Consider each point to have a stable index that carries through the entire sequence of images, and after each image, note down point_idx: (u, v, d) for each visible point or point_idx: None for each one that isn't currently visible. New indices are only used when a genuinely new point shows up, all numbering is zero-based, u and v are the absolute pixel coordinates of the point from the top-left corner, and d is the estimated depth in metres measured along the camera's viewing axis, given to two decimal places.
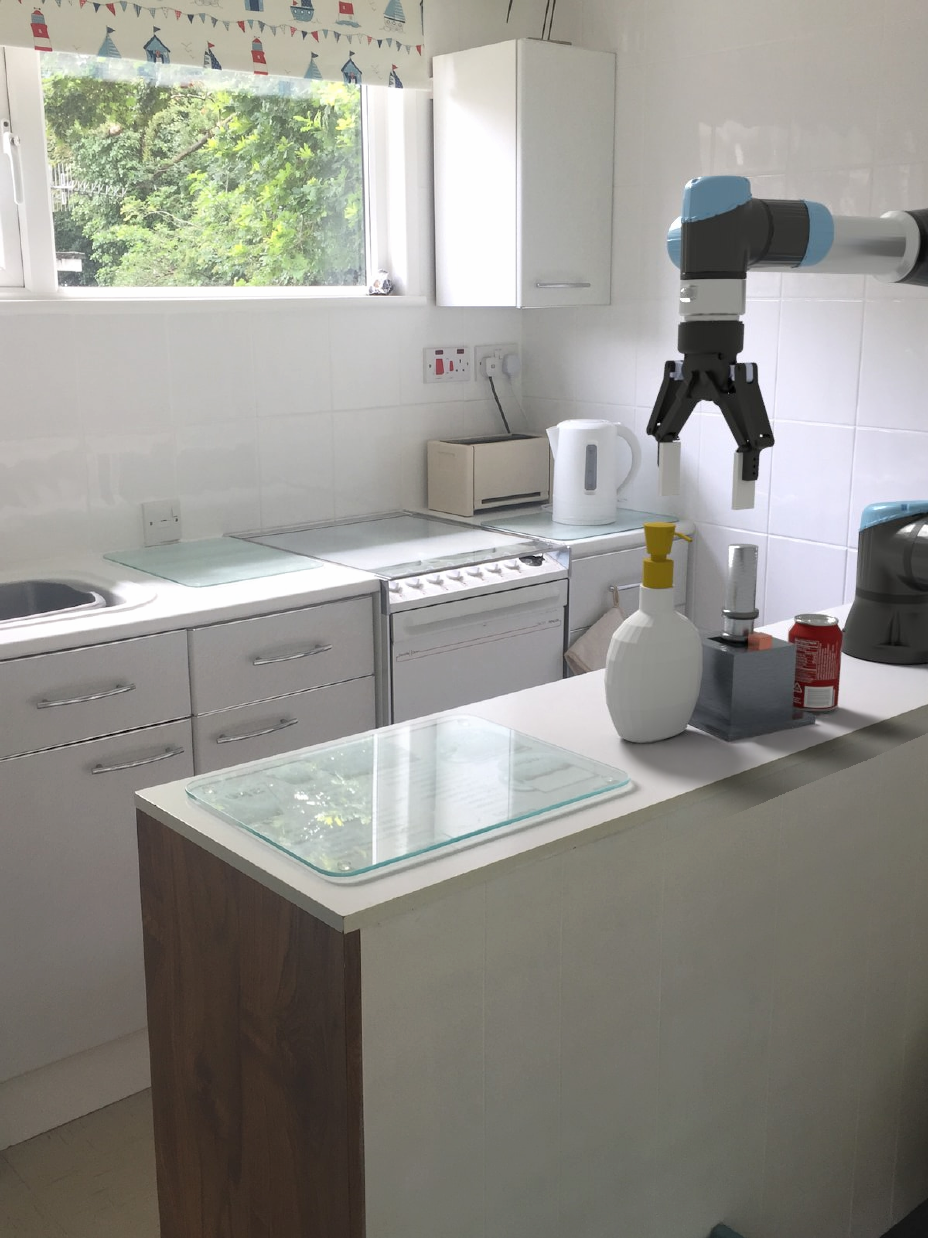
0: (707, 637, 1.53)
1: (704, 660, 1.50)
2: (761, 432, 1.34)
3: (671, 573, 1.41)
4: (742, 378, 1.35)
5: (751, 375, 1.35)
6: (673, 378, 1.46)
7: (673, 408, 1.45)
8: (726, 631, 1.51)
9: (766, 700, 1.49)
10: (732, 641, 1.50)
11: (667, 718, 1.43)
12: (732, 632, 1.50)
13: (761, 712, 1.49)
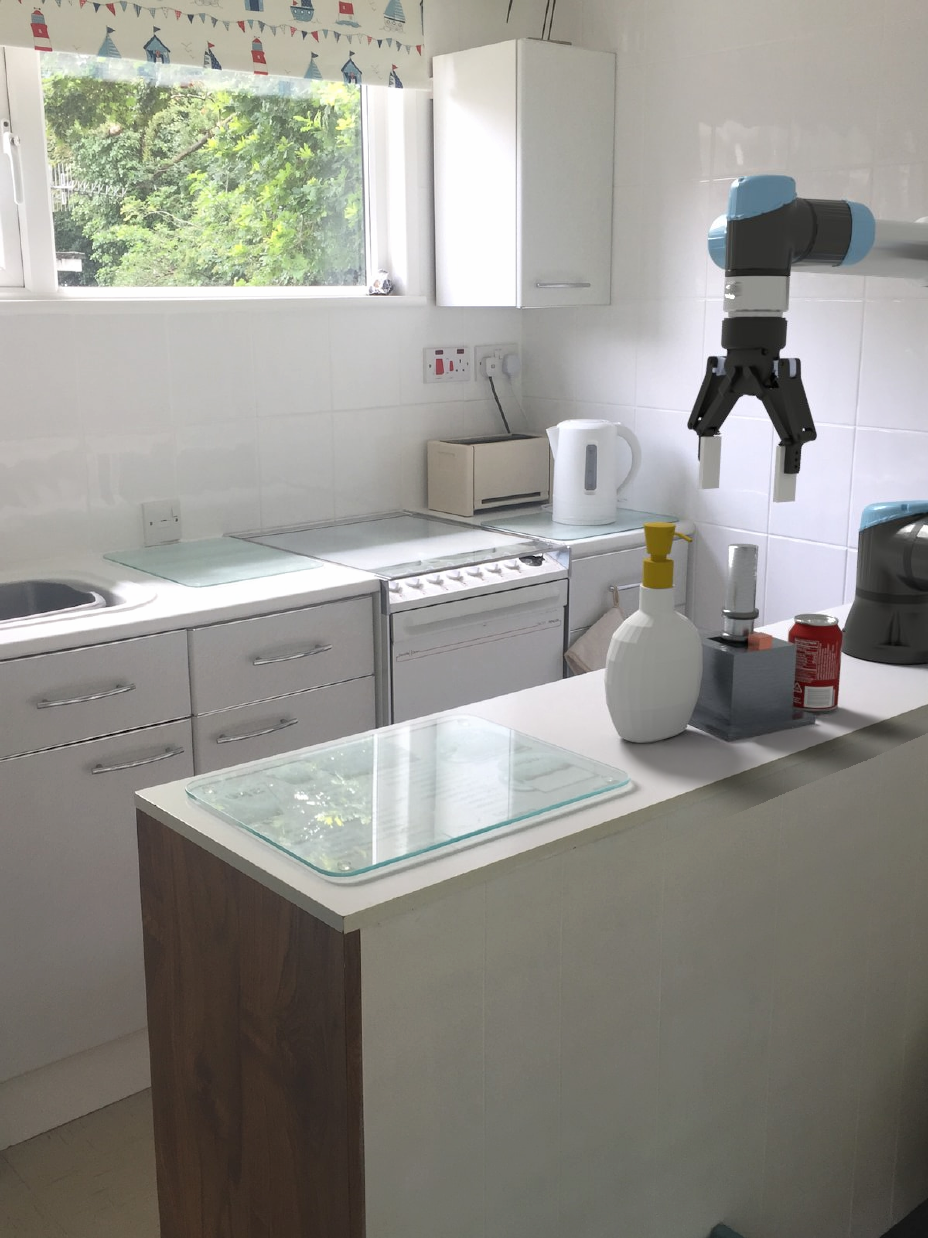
0: (707, 637, 1.53)
1: (704, 660, 1.50)
2: (804, 426, 1.37)
3: (671, 573, 1.41)
4: (786, 373, 1.37)
5: (794, 370, 1.38)
6: (715, 373, 1.49)
7: (715, 403, 1.48)
8: (726, 631, 1.51)
9: (766, 700, 1.49)
10: (732, 641, 1.50)
11: (667, 718, 1.43)
12: (732, 632, 1.50)
13: (761, 712, 1.49)
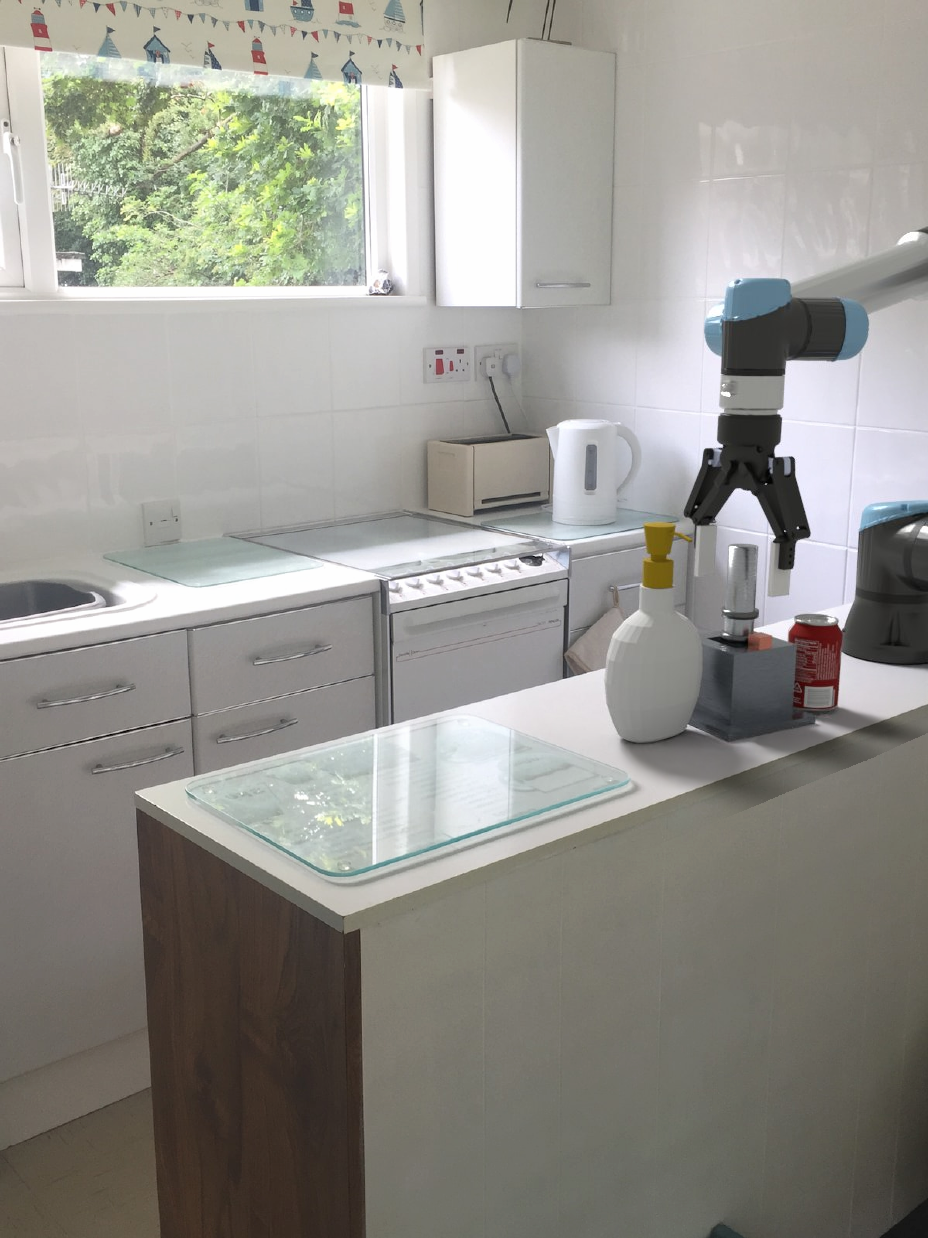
0: (707, 637, 1.53)
1: (704, 660, 1.50)
2: (798, 524, 1.39)
3: (671, 573, 1.41)
4: (780, 472, 1.40)
5: (789, 469, 1.40)
6: (711, 465, 1.51)
7: (711, 494, 1.51)
8: (726, 631, 1.51)
9: (766, 700, 1.49)
10: (732, 641, 1.50)
11: (667, 718, 1.43)
12: (732, 632, 1.50)
13: (761, 712, 1.49)
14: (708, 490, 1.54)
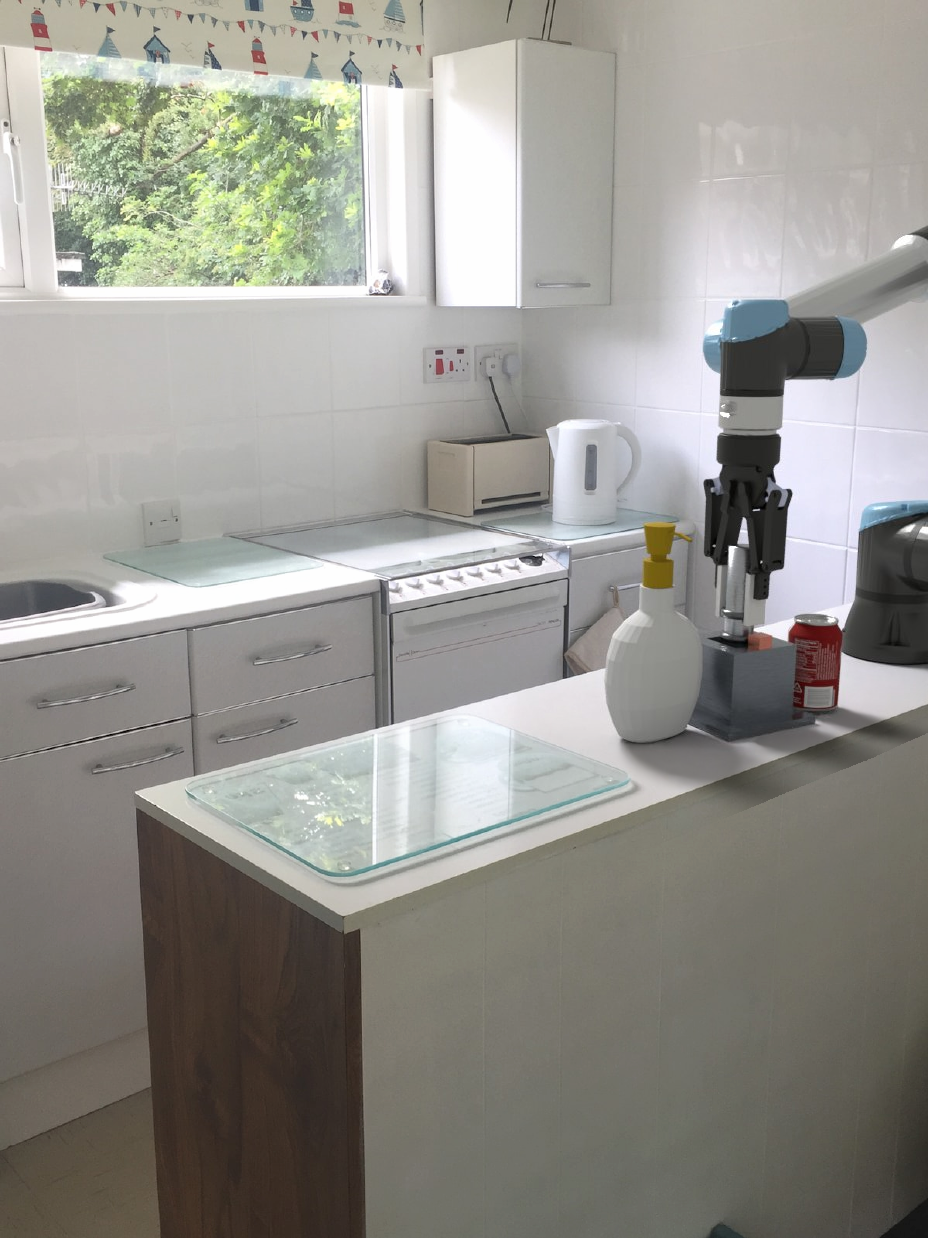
0: (707, 637, 1.53)
1: (704, 660, 1.50)
2: (774, 559, 1.44)
3: (671, 573, 1.41)
4: (774, 505, 1.42)
5: (783, 503, 1.42)
6: (715, 493, 1.51)
7: (722, 525, 1.50)
8: (726, 631, 1.51)
9: (766, 700, 1.49)
10: (732, 641, 1.50)
11: (667, 718, 1.43)
12: (732, 632, 1.50)
13: (761, 712, 1.49)
14: None
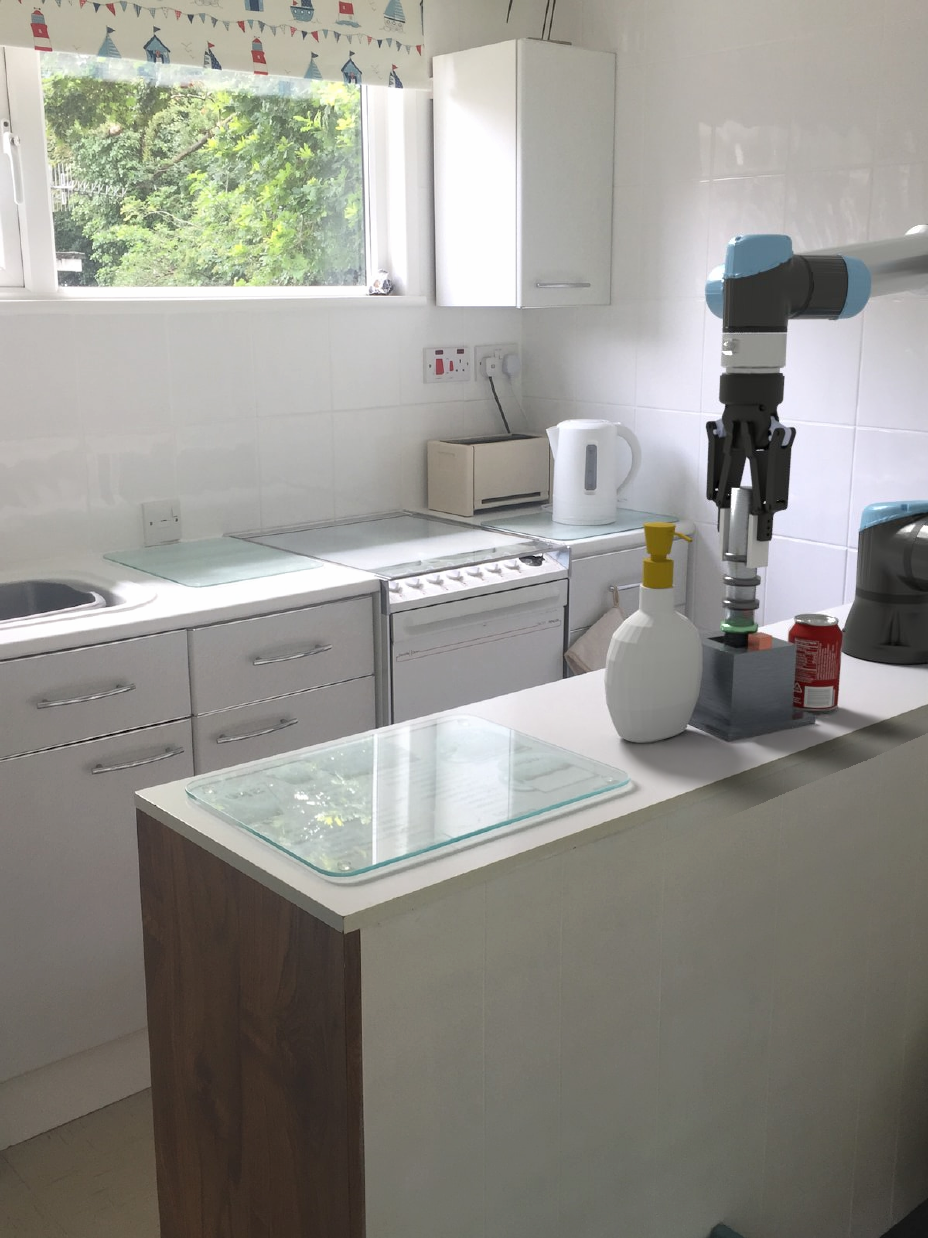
0: (707, 637, 1.53)
1: (704, 660, 1.50)
2: (778, 498, 1.42)
3: (671, 573, 1.41)
4: (778, 444, 1.40)
5: (787, 441, 1.40)
6: (717, 436, 1.50)
7: (725, 467, 1.48)
8: (729, 575, 1.49)
9: (766, 700, 1.49)
10: (735, 584, 1.48)
11: (667, 718, 1.43)
12: (735, 575, 1.48)
13: (761, 712, 1.49)
14: None
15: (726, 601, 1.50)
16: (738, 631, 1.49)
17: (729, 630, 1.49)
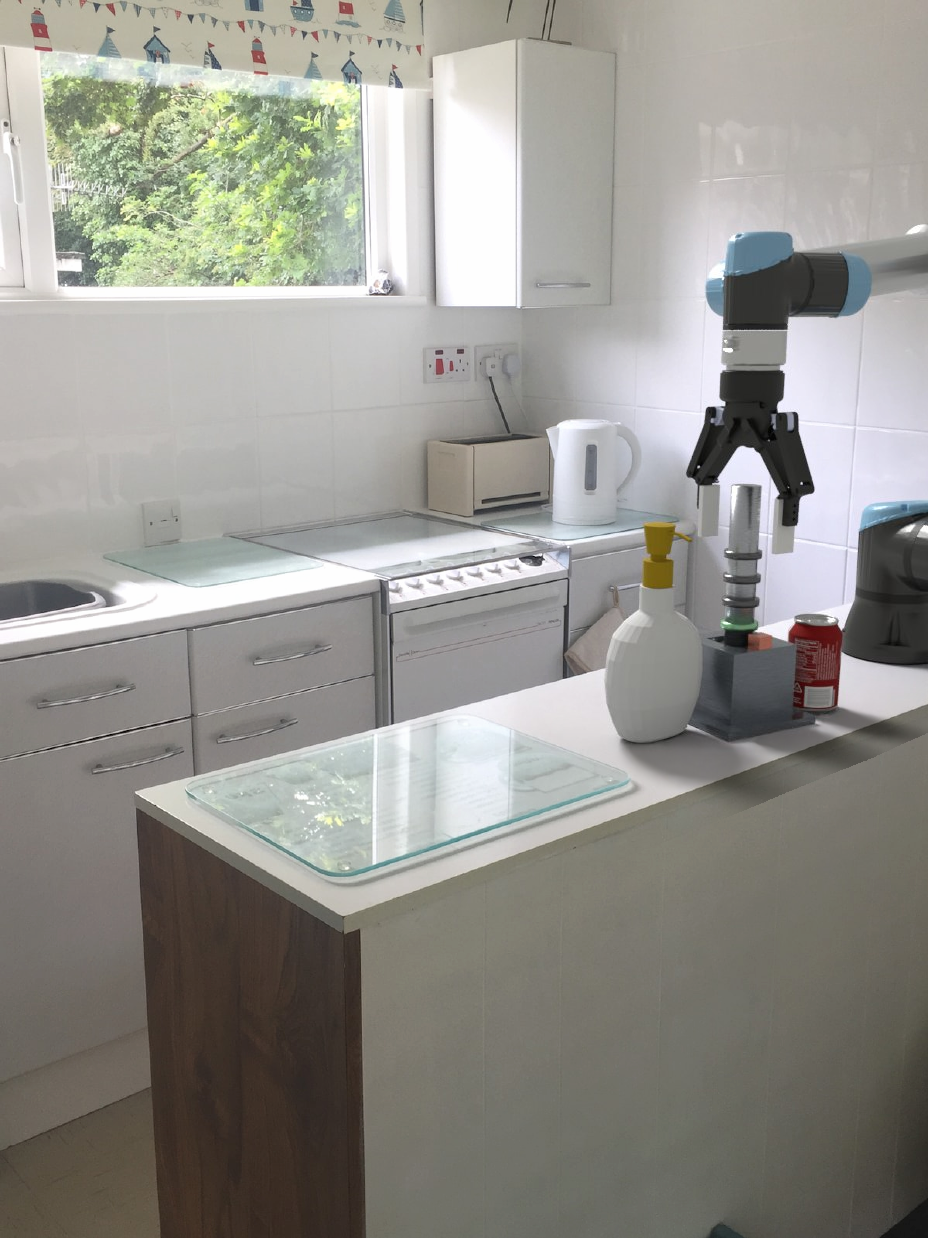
0: (707, 637, 1.53)
1: (704, 660, 1.50)
2: (802, 480, 1.38)
3: (671, 573, 1.41)
4: (783, 427, 1.39)
5: (792, 424, 1.39)
6: (714, 424, 1.50)
7: (713, 453, 1.50)
8: (729, 572, 1.49)
9: (766, 700, 1.49)
10: (735, 582, 1.48)
11: (667, 718, 1.43)
12: (735, 573, 1.48)
13: (761, 712, 1.49)
14: (711, 449, 1.52)
15: (726, 599, 1.50)
16: (738, 629, 1.49)
17: (729, 628, 1.49)
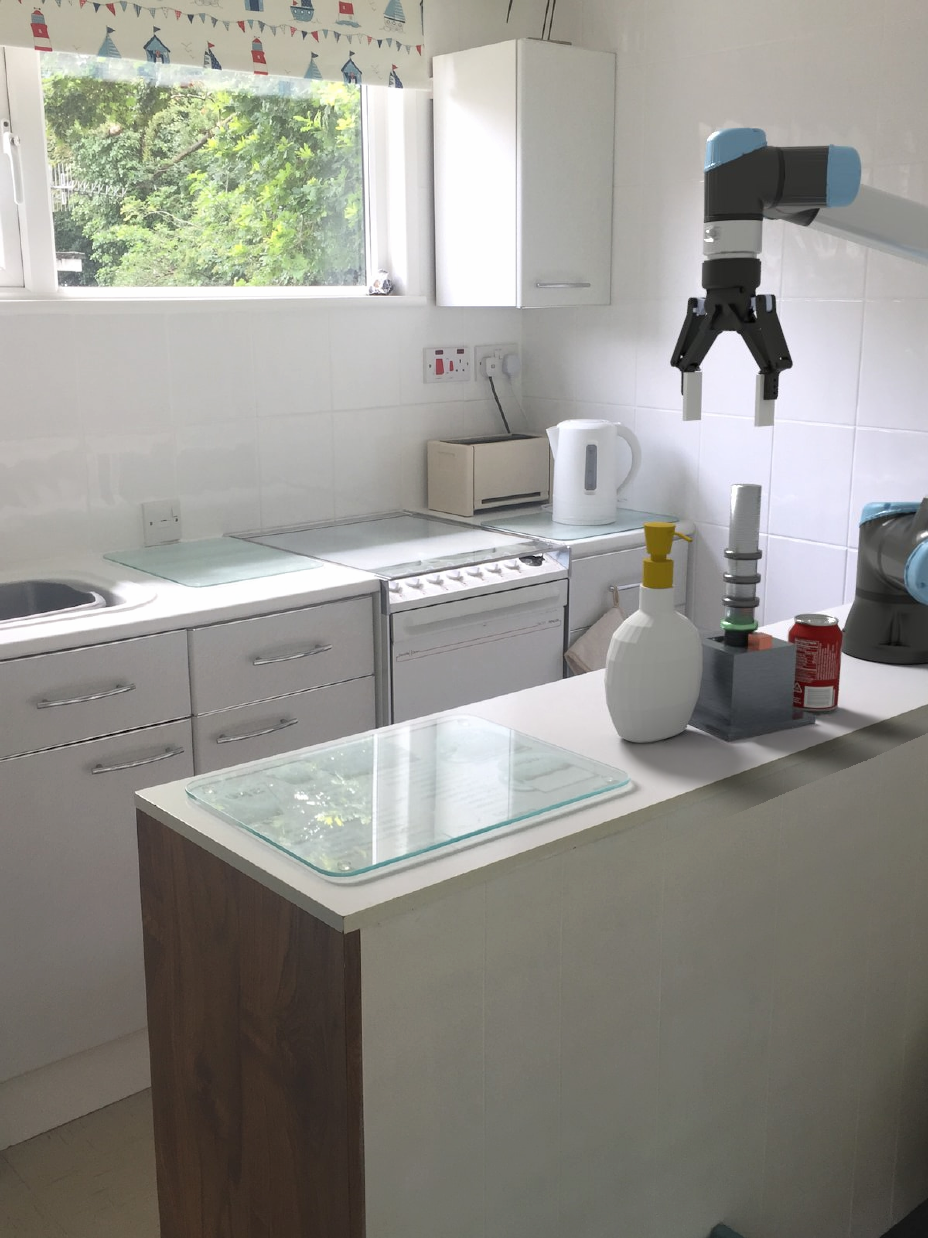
0: (707, 637, 1.53)
1: (704, 660, 1.50)
2: (781, 355, 1.51)
3: (671, 573, 1.41)
4: (763, 307, 1.52)
5: (770, 305, 1.52)
6: (696, 313, 1.62)
7: (696, 340, 1.62)
8: (729, 572, 1.49)
9: (766, 700, 1.49)
10: (735, 582, 1.48)
11: (667, 718, 1.43)
12: (735, 573, 1.48)
13: (761, 712, 1.49)
14: (693, 339, 1.65)
15: (726, 599, 1.50)
16: (738, 629, 1.49)
17: (729, 628, 1.49)
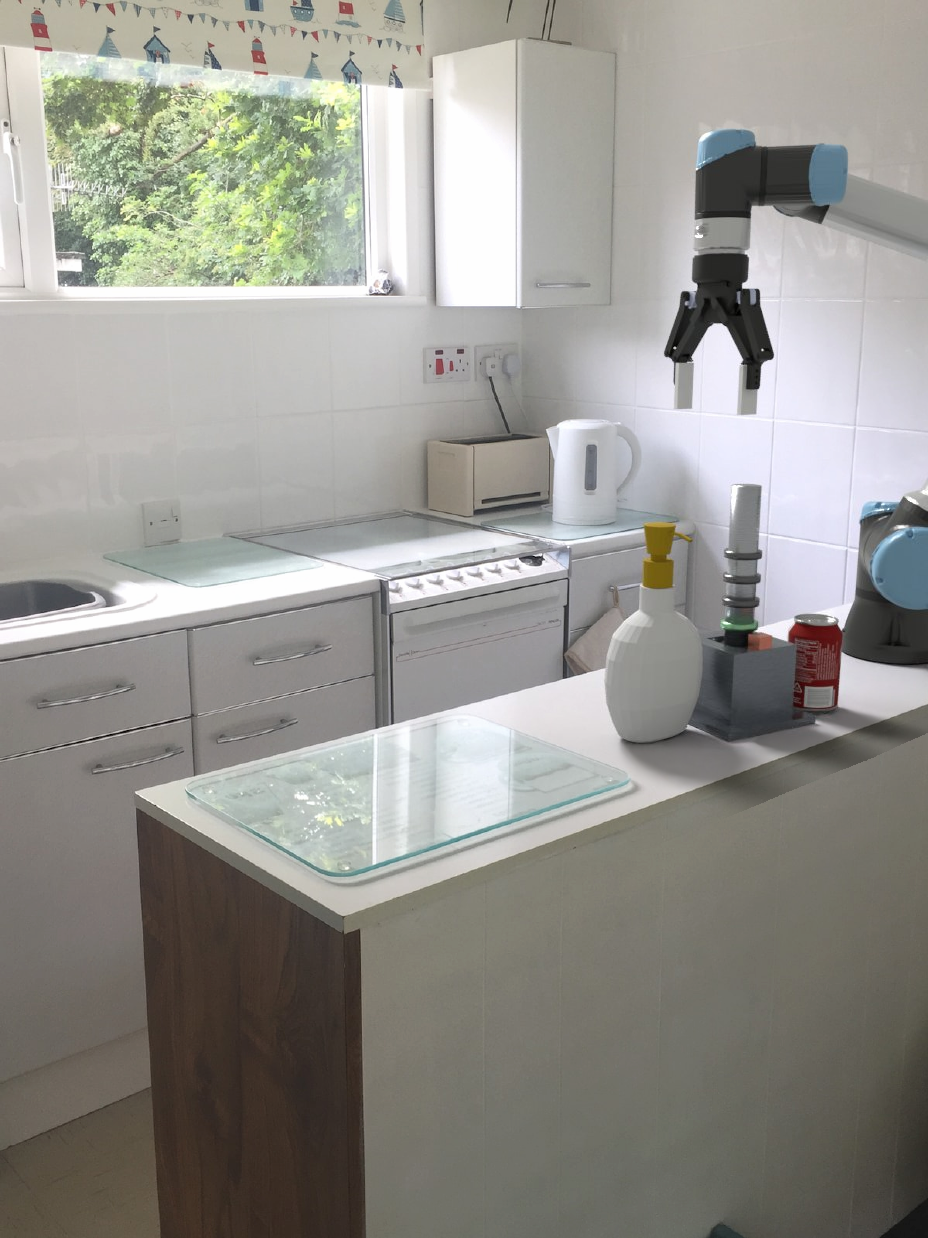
0: (707, 637, 1.53)
1: (704, 660, 1.50)
2: (762, 347, 1.58)
3: (671, 573, 1.41)
4: (747, 301, 1.59)
5: (754, 299, 1.59)
6: (688, 306, 1.70)
7: (687, 332, 1.70)
8: (729, 572, 1.49)
9: (766, 700, 1.49)
10: (735, 582, 1.48)
11: (667, 718, 1.43)
12: (735, 573, 1.48)
13: (761, 712, 1.49)
14: (685, 331, 1.73)
15: (726, 599, 1.50)
16: (738, 629, 1.49)
17: (729, 628, 1.49)
